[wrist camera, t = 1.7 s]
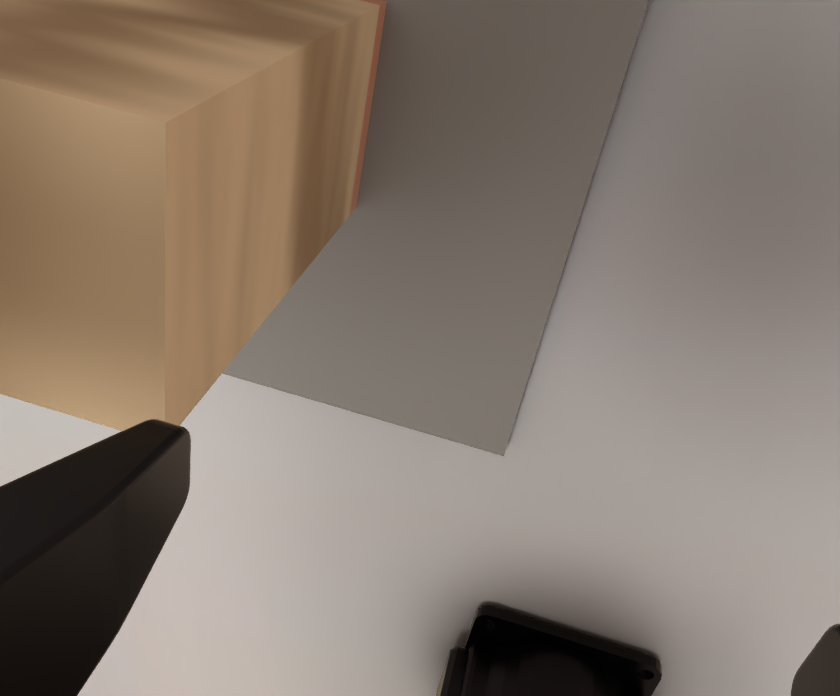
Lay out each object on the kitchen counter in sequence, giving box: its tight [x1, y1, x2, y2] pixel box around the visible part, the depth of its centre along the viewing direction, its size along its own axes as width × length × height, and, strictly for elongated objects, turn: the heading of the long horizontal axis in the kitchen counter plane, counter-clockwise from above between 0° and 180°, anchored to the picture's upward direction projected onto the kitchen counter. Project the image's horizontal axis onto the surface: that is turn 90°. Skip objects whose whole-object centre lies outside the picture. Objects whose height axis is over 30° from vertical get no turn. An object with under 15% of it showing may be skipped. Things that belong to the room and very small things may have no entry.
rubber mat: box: [222, 0, 649, 456], centre depth 19 cm, size 22×18×2 cm
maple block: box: [0, 0, 387, 431], centre depth 15 cm, size 5×5×10 cm
